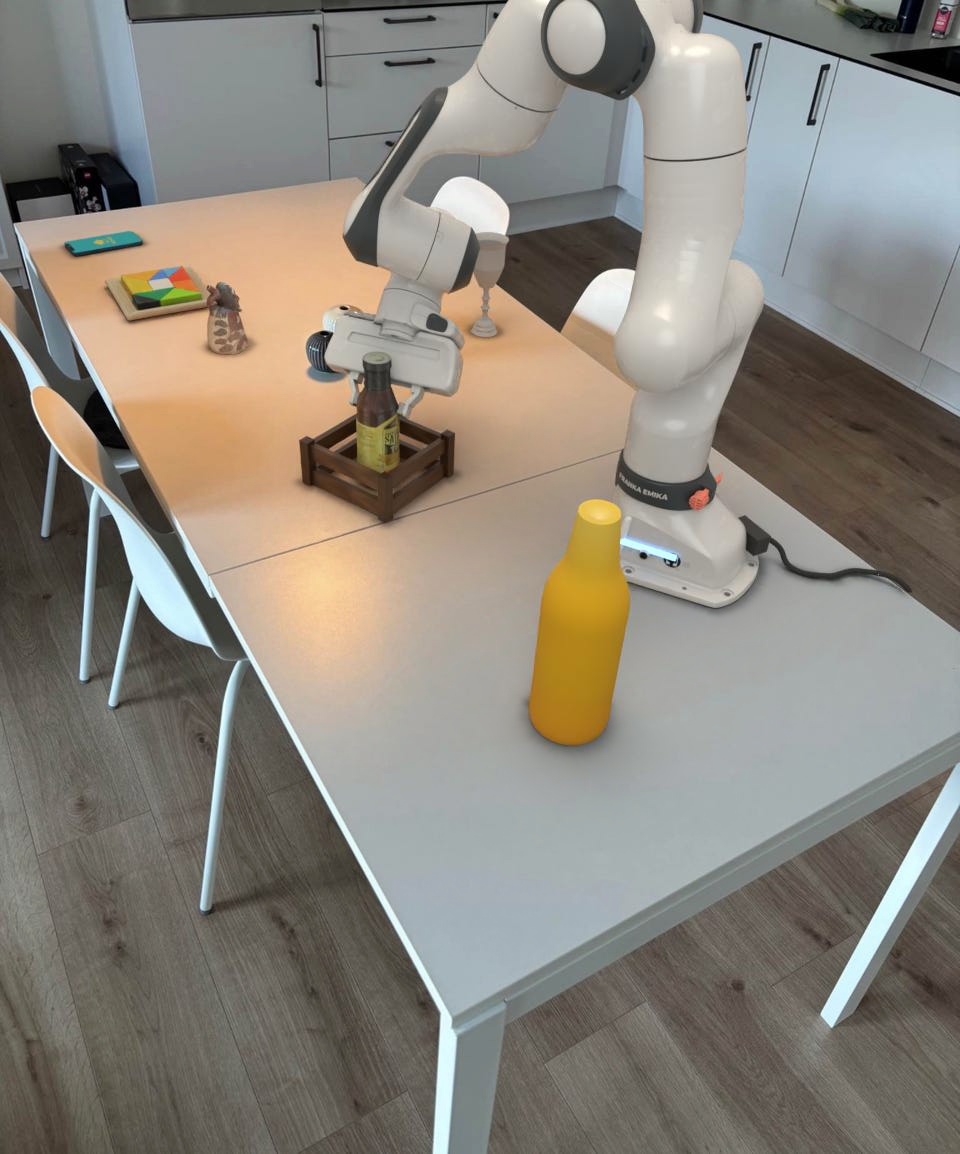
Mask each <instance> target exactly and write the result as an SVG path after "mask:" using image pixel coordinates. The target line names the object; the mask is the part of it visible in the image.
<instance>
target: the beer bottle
mask: <svg viewBox="0 0 960 1154" xmlns="http://www.w3.org/2000/svg"><path fill="white" fill-rule="evenodd" d="M576 511H577V512H576V515H575V518H574V522H573V526H572V529H571V534H570V537H569V540H568V544H567V547H566V551H565V554H564V556H563V557H562V558H561V559H560V560H559V561H558V563H557V564H556V565H555V567H554V568H553V569H552V571H551V572H550V574H549V576H548V577H547V580H546V582H545V584H544V587H543V589H542V595H541V599H540V608H539V618H538V626H537V633H536V634H537V636H536V644H535V652H534V661H533V669H532V678H531V686H530V693H529V697H528V698H529V700H528V714H529V719H530V722H531V723H532V725H533V727H534V728H535V730H536V731H537V732H538V733H539V734H540V735H541V736H542V737H544V738H546V739H547V740H549V741H551V742H553V743H556V744H558V745H564V746H580V745H584V744H585V745H586V744H587V743H590V742H592V741H594V740H596V739H597V738H598V737H600V736H601V735H602V733H603V732H604V731H605V729H606V728H607V725H608V722H609V720H610V717H611V711H612V701H613V697H614V693H615V687H616V682H617V676H618V672H619V666H620V661H621V656H622V652H623V651H622V650H623V647H624V640H625V635H626V630H627V625H628V620H629V616H630V609H631V595H630V588H629V584H628V581H627V580H626V578H625V575H624V573H623V570H622V568H621V565H620V538H621V511H620V509H619V508H618V507H617V506H616V505H615V504H613V503H612V501H608V500H605V499H599V498H598V499H596V498H595V499H588V500H586V501H582V503H581V504H579V506H578V508H577V510H576Z"/></svg>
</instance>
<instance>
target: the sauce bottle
mask: <svg viewBox="0 0 960 1154" xmlns="http://www.w3.org/2000/svg"><path fill="white" fill-rule="evenodd" d="M362 361H363V368H364V379H363V388H362V389H361V391H359V392H360V394H359V396H358V398H357V404H356V405H357V407H356V413H357V416H356V426H357V432H356V438H357V457H356V462H358V463H360V464H362V465H364V466H366V467H368V468H371V469H373V470H375V471H377V472H379V473H382V472H384V471H385V472H387V473H388V472H389V471H391V470H392V469H394V468H395V467H397V466H398V465H400V457H399V439H400V433H399V430H400V428H399V416H398V415H397V409H398V408H399V407H398V405H399V403H398V401H397V398H396V395H395V393H394V390H393V387H392V384H391V381H390V380H391V379H390V369H391V367H392V362H391V357H390V355H388V354H386V353H384V352H370V353H367V354H365V355H364V356H363V359H362ZM363 485H364V486H366V487H368V488H370V487H369V486H367V485H365V484H363Z"/></svg>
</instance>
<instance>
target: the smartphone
mask: <svg viewBox="0 0 960 1154" xmlns="http://www.w3.org/2000/svg"><path fill="white" fill-rule="evenodd" d="M143 244H144V242H143V239H141V237H139V236H138V235H137V234H136V233H135V232H134V231H132V230H126V231H120V232H115V233H110V234H109V233H108V234H104V235H97V236H91V237H85V238H80V239H79V238H78V239H74V240H73V239H72V240H68V241H65V242H64V247H66V249H67V250H68V251H69V252H70V254H71V255H73V256H77V257H78V256H84V255H90V254H96V253H101V252H106V251H113V250H119V249H123V248H124V249H125V248H129V247H135V246H141V245H143Z"/></svg>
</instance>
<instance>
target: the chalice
mask: <svg viewBox="0 0 960 1154" xmlns="http://www.w3.org/2000/svg"><path fill="white" fill-rule="evenodd" d="M475 234H476V236H477V239H478V242H479V245H480V251H479V254H478V257H477V260H476V264H475V267H474V271H473V276H474V278H475V280H476V282H477V285H478V287H479V288H481V289H483V294H482V296H481V299H482V305H481V306H480V310H482V314H481V316H480V317H478V318H477V319H476V320H475V321H474V324H473V326H472V328H471V329H470V332H471V334H473V335H475V336H477V337H481V338H491V337H493V336H495V335H497V334H498V329H497V327H496V324H495V322H494V320H493V319H492V318H491V317H490V316H489V314H488V313H489V310H490V309H491V306H490V305H489V302H490V300H491V297H490V290H491V289H493V288H495V286H496V284H497V283H498V281H499V279H500V277H501V275H502V273H503V271H504V268H505V263H506V251H507V250H506V248H507V245H508V243H509V242H510V239H509V236H507V235H505V234H503V233H499V232H493V231H482V232H481V231H480V232H475Z"/></svg>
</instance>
